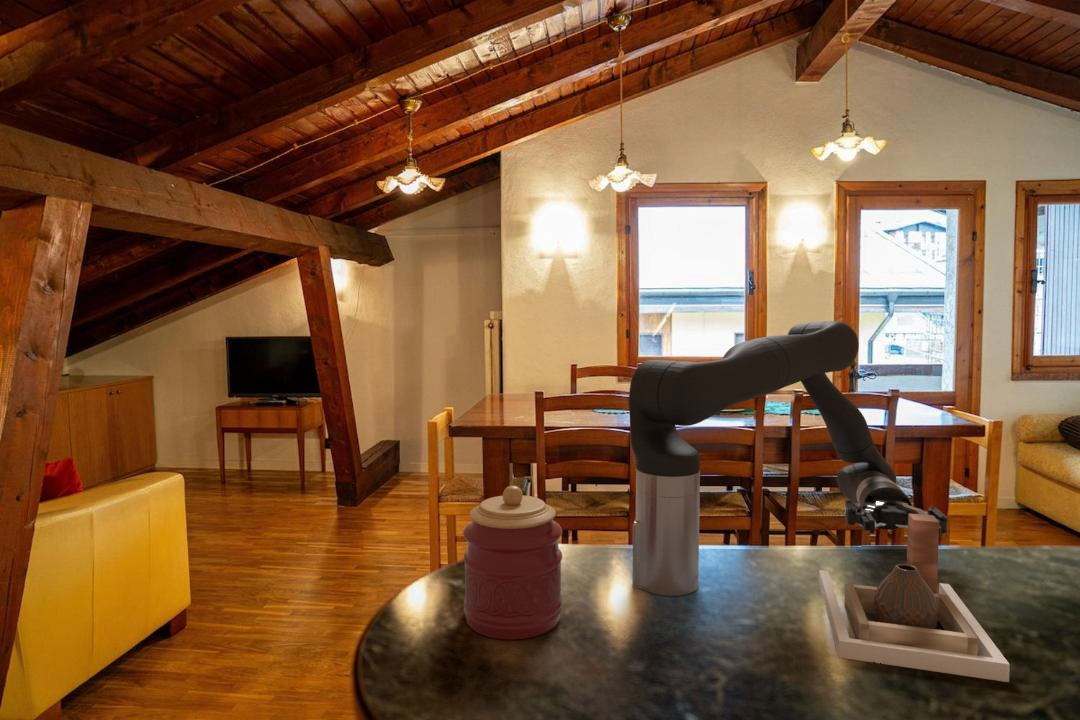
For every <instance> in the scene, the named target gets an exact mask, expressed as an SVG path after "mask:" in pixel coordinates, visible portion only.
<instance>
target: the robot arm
mask: <svg viewBox="0 0 1080 720" xmlns="http://www.w3.org/2000/svg"><path fill="white" fill-rule="evenodd" d="M859 344H860V343H859V338H858V336H857V333H856V332H855V330H854V329H853V328H852V327H851V326H850V325H849V324H847V323H846V322H844V321H843V322H842V321H837V320H829V321H814V322H803V323H798V324H796V325H793V326H792V327H790V329H789V331H788V333H787V334H781V335H769V336H762V337H758V338H754V339H750V340H746V341H742V342H740V343H737V344H735V345H733V346H731V348H729V349H728V350H727V351H726V352H725V354H724V355H723V357H722V359H717V360H712V361H700V362H698V361H697V362H696V361H682V360H666V359H649V360H646V361H643V362H642V363H640V364H639V365H638V366H637V368H636V369H635V370H634V372H633V374H632V376H631V380H630V385H629V394H628V403H629V406H628V407H629V427H630V428H629V429H630V444H631V449H632V453H633V455H634V457H635V519H634V521H633V523H632V583H631V585H632V587H633V588H638V589H642V590H643V591H645V592H649V593H651V594H654V595H660V596H672V597H675V596H684V595H688V594H692V593H694V592H696V590H697V589H698V588H699V576H700V570H699V567H700V565H699V563H700V562H699V560H700V552H699V551H700V498H701V497H700V491H701V487H700V486H701V485H700V483H701V481H700V480H701V478H700V477H701V471H700V470H701V467H700V466H701V458H700V457H701V456H700V453H699V451H698V450H697V449H696V448H695V447H693V446H691V444H689V443H688V442H686V441H685V440H684V439H683V438H682V436H681V434H680V433H679V432H678V430H677V427H676V426H678V427H679V426H681V427H688V426H690V427H691V426H693V425H697V424H699V423H701V422H704V421H706V420H708V419H709V418H711V417H713V416H715V415H717V414H718V413H721V412H722V411H724V410H726V409H727V408H729V407H732V406H734V405H736V404H741V403H743V402H747V401H749V400H750V401H751V400H753V399H755V398H758V397H762V396H766V395H768V394H770V393H771V394H772V393H774V392H777V391H780V390H781V389H782V390H783V388H786V387H789V386H791V385H795V384H797V383H799V382H801V384H802V386H803V388H804V389H805V391H806V393H807V394H808V397H809V398H810V399H811V401H812V403H813V404H814V406H815V407H816V409H817V410H818V412H819V414H820V416H821V417H822V419H823V422H824V424H825V427H826V428H827V431H828V434H829V436H830V440H831V442H832V446H833V448H834V450H835V453H836V455H837V457H838V459H840V460H841V461H843V462H845V463H849V465H846V466H843V467H842V468H840V470H839V471H838V472H837V475H836V483H837V485H838V489H839V490H840V492H841V493H842V494H843V496H844V497H846V499H848V500H845V501H844V517H845V521H846V524H847V525H849V526H855V525H856V524H859V526H860V527H861V528H862V529H863V530H864V531H866V532H867V533H868V534H871V535H875V531H876V530H875V528H878V529H880V530H884V531H885V530H886V531H891V530H899V528H900V529H901V528H905V529H908V514H921V515H933V516H934V517H935V518H936V519H937V520H938V521H939V538H941V537H942V534H947V533H948V519H949V518H948V516H947V515H946V514H944V513H943V512H942V511H941V510H939V509H938V508H937V507H935V506H929V507H928V509H927V511H926V510H923V509H921V508H918V507H915V506H913V503H912V501H911V499H910V497H909V496H908V495H907V494H906V493H905V492H904V491H903V490H902V489H901V488H900V486H899V485H897V475H896V472H895V471H894V470H893V468H892V466H891V465H890V464H889V462H888V461H887V460H886V458H884V456H883V455H882V454H881V453H880V451H879V450H878V448H877V446H876V444H875V442H874V440H873V437H872V435H871V431H870V428H869V425H868V423H867V420H866V418H865V416H864V415H863V413H862V411H860V409H859V408H858V407H857V406H856V405H855V404H854V403H853V401H852V400H850V399H849V398H848V397H847V396H845V394H843V392H841V390H839V388H837V386H836V385H834V383H833V382H832V381H831V380H830V378H829V377H828V376H827V373H832V372H841V371H844V370H846V369H848V368H849V367H851V365H852V364H853V363H854V361H855V360H856V357H857V356H858V352H859V346H860V345H859Z"/></svg>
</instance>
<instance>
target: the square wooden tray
mask: <svg viewBox="0 0 1080 720" xmlns="http://www.w3.org/2000/svg"><path fill="white" fill-rule="evenodd" d="M939 538H940V537H939V521H938V520H937V519H936V518H935V517H934V516H933V515H921V514H908V528H907V540H906V541H907V544H906V545H907V546H906V548H907V549H906V564H908V565H912V566H914V567H916V568H917V569H918V571H919V573H920V575H921V577H922V578H923V580H924V581H925V582H926V584H927V585H928V586H929V588H930V589H931V590H932V592H933V594H934V596H935V599H936V602H937V606H938V621H937V622H938V623H940V625H941V626H942V628H943V630H942V629H936V628H935V629H928V628H920V627H912V626H904V625H897V624H889V623H881V622H877V621H874V620H873V621H871V620H868V618H867V616H866V613H870V614H875V612H874V597H875V593H876V590H877V588H878V586H871V585H870V586H869V585H863V584H855V583H844V609H845V612H846V616H847V618H848V621H849V624H850V627H851V630H852V633H853V635H854V639H859V640H866V641H873V642H881V643H888V644H895V645H903V646H910V647H917V648H924V649H932V650H939V651H946V652H954V653H961V654H968V655H976V656H979V655H978V638H977V636H976V635H975V634H974V632H973V631H972V629H971V628H970V627H969V625H968V624H967V622H966V621H965V620H964V618H963V617H962V616H961V614H960V613H959V611H958V610H957V609H956V607H955V606H954V604H953V603H952V602H951V600H950V599H949V597H948V596H947V595H943V594H939V593H938V592H937V591H938V589H937V588H938V569H939V568H938V565H939V563H938V562H939V540H940V539H939Z"/></svg>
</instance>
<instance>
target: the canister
mask: <svg viewBox="0 0 1080 720" xmlns="http://www.w3.org/2000/svg"><path fill="white" fill-rule="evenodd" d="M556 514H557V512H556V510H555V508H553V507H552V506H551V505H549V504H547V503H545V501H544V500H542V499H540V498H538V497H536V496H532V495H531V496H530V495H524V494H523V491H522V489H521V488H520V487H518V486H517V485H509V486H507V487H506V488H504V490H503V493H502V495H498V496H492V497H490V498H486V499H484V500H483V501H481V502H480V504H478V505H477V506H475V507H474V508H472V509H471V510H470V511H469V518H470V520H471V521H470V522H469V523H468V524H467V525H466V526H465V527H464V528H463V531H462V535H463V538H464V539H465V541H466V542H467V544H466V546H467V547H466V550H465V552H464V553H463V559H462V560H463V562H464V599H463V612H464V615H465V621H466V624H467V625H468V626H469V628H470V629H472V630H473V631H474V632H476V633H477V634H480V635H483V636H485V637H488V638H491V639H492V638H493V639H500V640H523V639H528V638H533V637H537V636H540V635H543V634H546V633H548V632H550V631H551V630H552V629H554V628H555V627H556V626H557V625H558V623H559V622H560V620H561V613H562V611H563V610H562V609H563V597H562V579H561V578H562V560H563V552H562V551H561V549H560V548H559V539H560V538H561V537H562V534H563V529H562V527H561V526H560V524H559V523H558V522H556V520H555V521H554V519H555V518H556Z"/></svg>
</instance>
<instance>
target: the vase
mask: <svg viewBox="0 0 1080 720" xmlns="http://www.w3.org/2000/svg"><path fill="white" fill-rule="evenodd" d="M877 587H878V588H877V590H876V593H875V597H874V612H875V613H874V616H875V620H876V622H881V623H889V624H897V625H904V626H912V627H920V628H928V629H936V628H937V625H938V622H939V621H938V606H937V602H936V599H935V596H934V594H933V592H932V590H931V589H930V588H929V586H928V585H927V584H926V582H925V581H924V580H923V578H922V577H921V575H920V573H919V571H918V569H917V568H916V567H914V566H912V565H908V564H907V563H898V564H896V565H895V566H894V568H893V569H892V571H891V572H890V573H889V574H888V575H887V576H886V577H885V578H883V579H882V580H881V581H880V582H879V584H878V586H877Z"/></svg>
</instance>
